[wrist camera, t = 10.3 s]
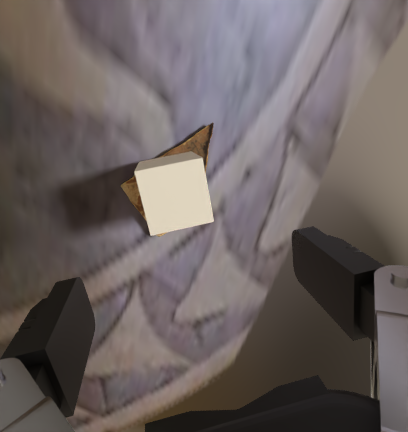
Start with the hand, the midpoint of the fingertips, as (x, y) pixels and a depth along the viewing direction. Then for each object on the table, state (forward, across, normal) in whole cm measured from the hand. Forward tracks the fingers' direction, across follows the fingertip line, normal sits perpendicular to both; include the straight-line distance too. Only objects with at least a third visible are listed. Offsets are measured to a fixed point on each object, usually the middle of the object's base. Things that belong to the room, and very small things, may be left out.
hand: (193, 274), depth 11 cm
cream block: (+19, 0, 0) cm, 19 cm away
